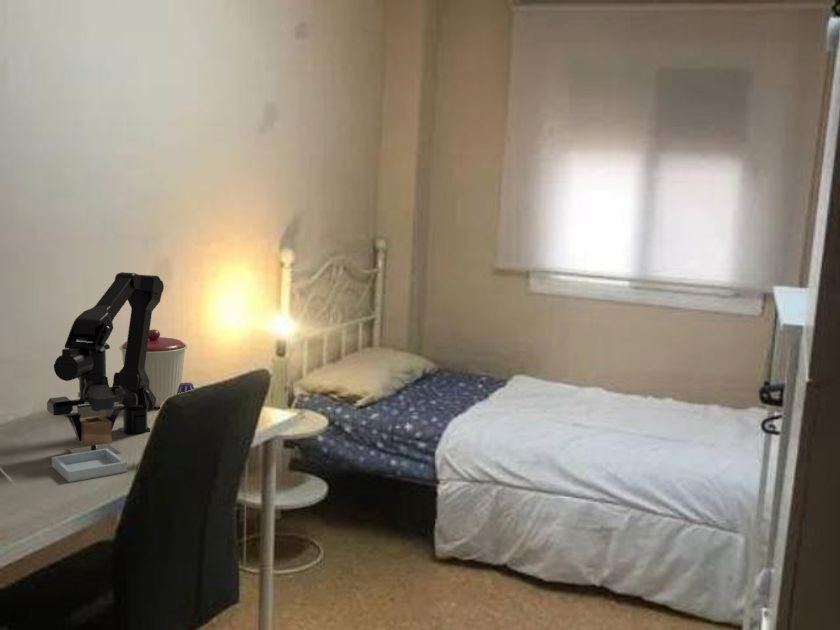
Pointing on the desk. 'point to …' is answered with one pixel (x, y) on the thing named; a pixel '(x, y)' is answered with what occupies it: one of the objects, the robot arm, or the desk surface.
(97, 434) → the wooden block with hole
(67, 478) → the tray
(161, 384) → the canister
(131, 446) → the desk surface
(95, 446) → the grey peg stand
